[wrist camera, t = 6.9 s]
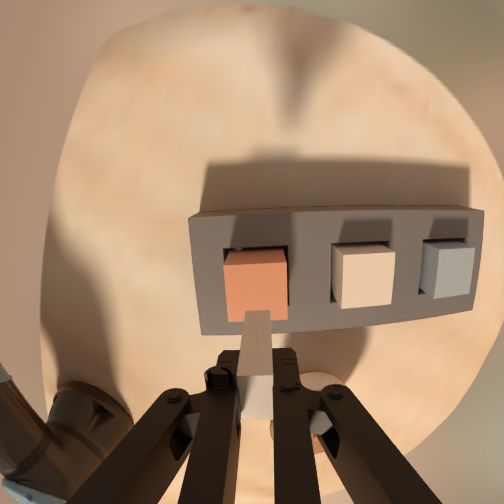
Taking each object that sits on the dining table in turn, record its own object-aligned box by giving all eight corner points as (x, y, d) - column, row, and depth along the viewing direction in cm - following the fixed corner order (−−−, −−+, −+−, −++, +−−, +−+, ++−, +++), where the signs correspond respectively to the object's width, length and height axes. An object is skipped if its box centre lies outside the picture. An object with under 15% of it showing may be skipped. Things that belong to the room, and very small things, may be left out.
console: (209, 314, 35) (201, 335, 30) (199, 212, 32) (188, 218, 27) (452, 295, 33) (472, 310, 29) (460, 206, 31) (484, 210, 26)
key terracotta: (233, 299, 30) (228, 321, 25) (229, 250, 29) (223, 265, 24) (283, 297, 30) (287, 319, 25) (282, 248, 29) (286, 262, 24)
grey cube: (412, 282, 30) (433, 298, 26) (416, 239, 29) (439, 249, 24) (446, 279, 30) (469, 293, 25) (450, 238, 29) (475, 247, 24)
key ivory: (329, 289, 31) (341, 308, 26) (330, 243, 30) (343, 255, 25) (373, 286, 31) (390, 304, 26) (376, 241, 29) (395, 252, 25)
